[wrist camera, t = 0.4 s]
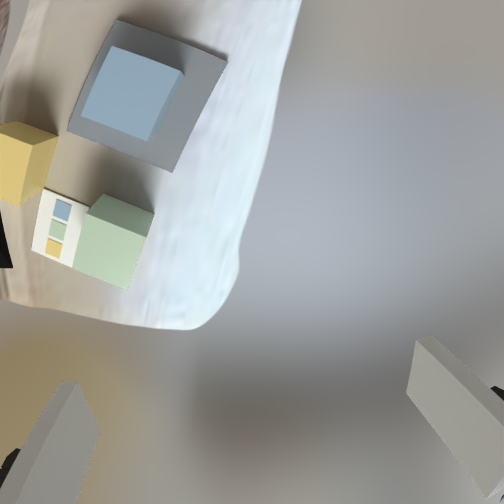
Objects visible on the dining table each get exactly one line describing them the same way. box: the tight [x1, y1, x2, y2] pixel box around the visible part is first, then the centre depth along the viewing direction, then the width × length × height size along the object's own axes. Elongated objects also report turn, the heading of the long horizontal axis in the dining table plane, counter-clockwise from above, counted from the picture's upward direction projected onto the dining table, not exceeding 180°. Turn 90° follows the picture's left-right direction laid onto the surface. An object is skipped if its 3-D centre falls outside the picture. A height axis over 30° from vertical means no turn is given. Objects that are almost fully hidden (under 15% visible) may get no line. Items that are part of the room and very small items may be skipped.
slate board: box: [67, 20, 228, 173], centre depth 26 cm, size 12×12×1 cm
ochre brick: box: [0, 121, 59, 206], centre depth 24 cm, size 6×6×6 cm
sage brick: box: [72, 193, 154, 290], centre depth 30 cm, size 6×6×6 cm
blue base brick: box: [81, 46, 184, 141], centre depth 23 cm, size 6×6×6 cm
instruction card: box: [31, 189, 90, 267], centre depth 31 cm, size 8×6×1 cm
